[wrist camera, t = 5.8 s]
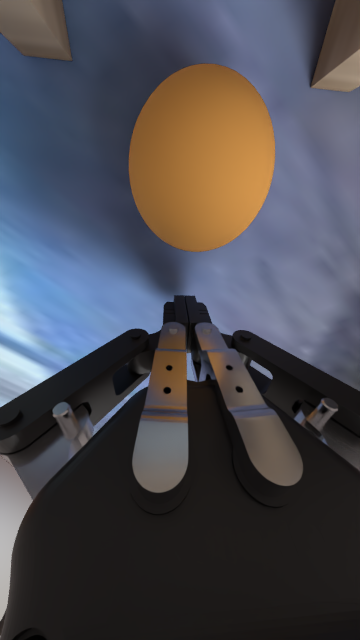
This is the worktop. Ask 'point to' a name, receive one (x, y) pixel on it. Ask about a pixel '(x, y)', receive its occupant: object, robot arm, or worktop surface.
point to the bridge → (52, 42)
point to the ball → (201, 157)
